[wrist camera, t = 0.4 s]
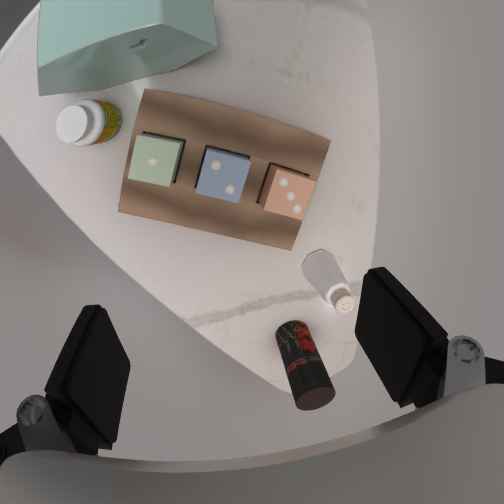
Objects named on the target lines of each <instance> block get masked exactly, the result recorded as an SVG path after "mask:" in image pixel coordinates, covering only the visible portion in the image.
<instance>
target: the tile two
mask: <svg viewBox="0 0 504 504" xmlns="http://www.w3.org/2000/svg"><path fill="white" fill-rule="evenodd" d="M250 164H251V161H250V160H249V159H248V158H247V157H244V156H240V155H237V154H233V153H229V152H226V151H222V150H218V149H214V148H210V147H208V148H207V151H206V155H205V158H204V162H203V166H202V169H201V173H200V177H199V181H198V185H197V189H196V193H197V194H202V195H206V196H210V197H214V198H218V199H223V200H227V201H231V202H235V203H239V200H240V197H241V194H242V190H243V187H244V184H245V181H246V177H247V174H248V171H249V168H250Z"/></svg>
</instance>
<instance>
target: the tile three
mask: <svg viewBox="0 0 504 504" xmlns="http://www.w3.org/2000/svg"><path fill="white" fill-rule="evenodd" d="M315 185H316V181H314V180H313V179H311V178H309V177H308V176H306V175H303V174H300V173H297V172H294V171H291V170H288V169H285V168H281V167H278V166H275V165H272V164H270V166H269V169H268V172H267V175H266V178H265V181H264V184H263V187H262V190H261V193H260V197H259V200H258V201H259V203H260V205H261V206H262V208H263V210H266V211H270V212H273V213H277V214H281V215H285V216H288V217H292V218H295V219H299V220H303V217H304V215H305V212H306V209H307V207H308V204H309V201H310V198H311V196H312V193H313V190H314V187H315Z"/></svg>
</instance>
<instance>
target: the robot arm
mask: <svg viewBox="0 0 504 504" xmlns="http://www.w3.org/2000/svg"><path fill="white" fill-rule="evenodd" d="M355 335H356V338H357V340H358V341H359V343H360V345H361V346H362V348H363V350H364V351H365V353H366V355H367V357H368V358H369V360H370V362H371V363H372V365H373V367H374V369H375V370H376V372H377V374H378V375H379V377H380V379H381V381H382V382H383V384H384V386H385V388H386V390H387V391H388V393H389V395H390V397H391V398H392V400H393V401H394V402H398V404H399V406H400V408H402V407H405V406H407V405H409V404H411V403H414V405H415V407H416V409H415V411H413V412H410V413H408V414H405V415H403V416H400V417H398V418H395V419H393V420H390V421H388V422H385V423H382V424H380V425H377V426H374V427H371V428H368V429H366V430H363V431H360V432H357V433H353V434H350V435H347V436H344V437H340V438H337V439H333V440H330V441H326V442H322V443H318V444H314V445H310V446H306V447H301V448H297V449H292V450H286V451H281V452H276V453H270V454H263V455H257V456H249V457H241V458H232V459H220V460H205V461H144V460H130V459H118V458H108V457H100V456H99V455H98V448H99V449H107V450H112V444H113V443H114V442H116V440H117V435H118V429H119V423H120V417H121V412H122V406H123V401H124V396H125V391H126V386H127V381H128V377H129V372H130V361H129V359H128V356H127V355H126V352H125V350H124V349H123V346H122V344H121V342H120V340H119V338H118V336H117V334H116V331H115V329H114V327H113V325H112V322H111V320H110V318H109V316H108V313H107V311H106V309H105V308H102V307H101V306H100V305H86V306H84V307H83V309H82V311H81V313H80V315H79V317H78V318H77V320H76V322H75V324H74V326H73V328H72V330H71V332H70V334H69V336H68V338H67V340H66V342H65V344H64V346H63V348H62V350H61V353H60V355H59V357H58V359H57V361H56V363H55V366H54V368H53V370H52V372H51V375H50V377H49V379H48V382H47V384H46V387H45V389H44V391H45V392H46V396H45V398H44V397H43V396H41V395H31V396H29V397H27V398H26V399H24V400H23V401H22V402H21V404H20V405H19V407H18V409H17V414H16V417H17V423H16V424H15V425H13V426H11V427H10V428H8V429H7V430H5V431H4V432H2V433H1V434H0V504H504V361H500V360H496V359H492V358H488V357H484V351H483V348H482V347H481V345H480V344H479V343H478V342H477V341H476V340H474V339H473V338H471V337H468V336H455V337H454V338H452V339H451V340H450V341H449V340H448V339H447V336H448V333H447V332H446V331H445V330H444V329H443V328H442V327H441V325H440V324H439V323H438V322H437V321H436V320H435V319H434V318H433V317H432V315H430V313H429V312H428V311H427V310H426V309H425V308H424V307H423V306H422V305H421V304H420V303H419V302H418V301H417V300H416V298H415V297H414V296H413V295H412V294H411V293H410V292H409V291H408V290H407V289H406V288H405V287H404V286H403V285H402V284H401V283H400V282H399V281H398V280H397V279H396V278H395V277H394V276H393V275H392V274H391V273H390V272H389V271H388V270H387V269H386V268H385V267H378V268H373V269H369V270H368V272H367V274H365V275H364V278H363V285H362V291H361V298H360V304H359V310H358V315H357V321H356V326H355Z"/></svg>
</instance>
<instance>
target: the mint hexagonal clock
mask: <svg viewBox="0 0 504 504" xmlns="http://www.w3.org/2000/svg"><path fill="white" fill-rule="evenodd" d="M216 48H218V42H217V33H216V25H215V16H214V7H213V0H41V3H40V11H39V22H38V38H37V76H38V90H39V96H46V95H53V94H61V93H70V92H81V91H94V90H102V89H105V88H109V87H112V86H115V85H118V84H122V83H125V82H129V81H132V80H136V79H140V78H144V77H148V76H152V75H156V74H161V73H165V72H170V71H175V70H176V69H178V68H180V67H182V66H183V65H185V64H187V63H189V62H191V61H193V60H194V59H196V58H198V57H200V56H202V55H204V54H206V53H208V52H210V51H212V50H214V49H216Z"/></svg>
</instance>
